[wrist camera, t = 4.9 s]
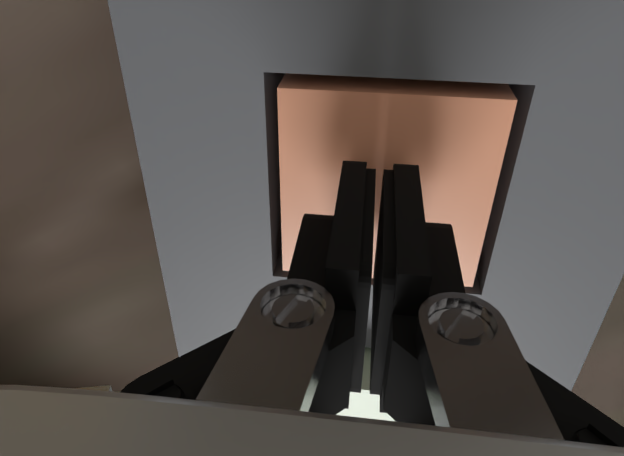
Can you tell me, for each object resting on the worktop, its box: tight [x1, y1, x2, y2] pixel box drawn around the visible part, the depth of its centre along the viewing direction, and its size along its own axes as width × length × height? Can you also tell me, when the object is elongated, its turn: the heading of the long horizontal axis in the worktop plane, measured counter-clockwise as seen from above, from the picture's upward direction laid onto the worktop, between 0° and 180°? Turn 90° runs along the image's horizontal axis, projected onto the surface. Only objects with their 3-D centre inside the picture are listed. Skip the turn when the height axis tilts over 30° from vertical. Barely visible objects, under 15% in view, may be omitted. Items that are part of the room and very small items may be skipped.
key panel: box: [108, 0, 624, 391], centre depth 18 cm, size 26×12×4 cm, turn 179°
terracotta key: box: [277, 73, 518, 287], centre depth 13 cm, size 5×5×3 cm
